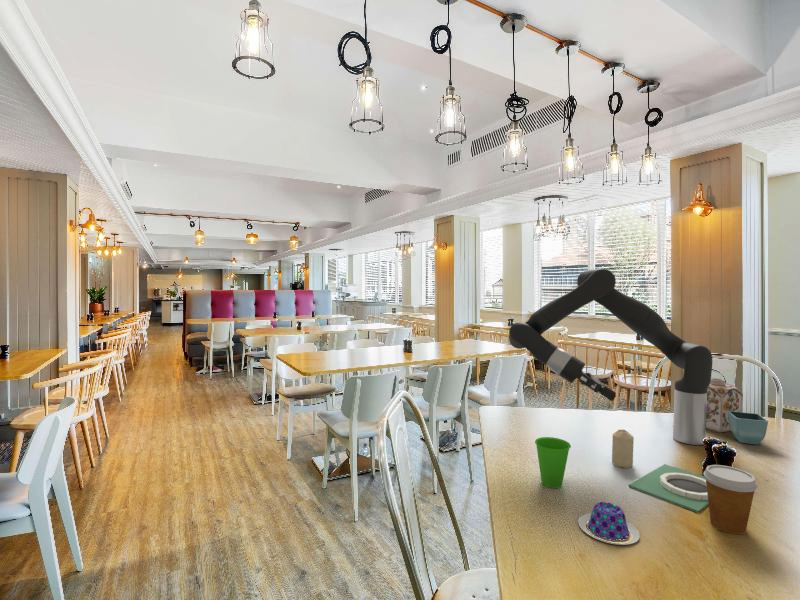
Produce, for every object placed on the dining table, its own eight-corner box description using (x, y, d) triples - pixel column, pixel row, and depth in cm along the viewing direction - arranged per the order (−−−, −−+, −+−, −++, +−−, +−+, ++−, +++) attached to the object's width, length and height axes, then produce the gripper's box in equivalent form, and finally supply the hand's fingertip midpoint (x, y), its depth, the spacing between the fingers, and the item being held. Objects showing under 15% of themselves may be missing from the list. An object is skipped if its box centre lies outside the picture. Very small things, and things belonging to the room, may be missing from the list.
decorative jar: (742, 429, 159) (744, 381, 158) (721, 433, 155) (723, 383, 154) (709, 420, 170) (711, 374, 169) (688, 423, 166) (690, 376, 165)
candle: (635, 468, 125) (636, 434, 124) (614, 467, 126) (615, 433, 125) (629, 461, 130) (630, 428, 130) (609, 459, 131) (610, 427, 131)
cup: (569, 478, 118) (570, 439, 118) (570, 494, 109) (571, 451, 109) (534, 473, 121) (535, 435, 121) (533, 488, 112) (534, 446, 112)
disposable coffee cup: (759, 544, 89) (761, 487, 89) (703, 529, 94) (705, 475, 94) (751, 522, 97) (754, 470, 97) (700, 510, 102) (702, 460, 102)
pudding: (611, 554, 86) (612, 528, 86) (566, 522, 97) (566, 500, 97) (652, 540, 91) (653, 515, 90) (605, 512, 102) (606, 490, 102)
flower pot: (735, 444, 144) (736, 417, 144) (726, 435, 153) (727, 410, 152) (767, 448, 141) (768, 421, 141) (757, 439, 149) (758, 413, 149)
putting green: (664, 465, 127) (664, 460, 127) (731, 487, 114) (731, 480, 114) (628, 486, 114) (628, 480, 114) (699, 513, 101) (699, 506, 101)
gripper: (569, 354, 128) (622, 388, 121) (573, 355, 140) (621, 385, 133) (555, 375, 129) (606, 410, 122) (560, 374, 141) (607, 405, 134)
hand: (614, 397), depth 127 cm, fingers open, 8 cm apart
